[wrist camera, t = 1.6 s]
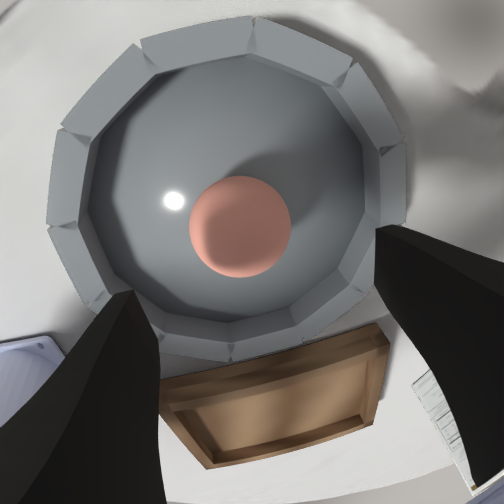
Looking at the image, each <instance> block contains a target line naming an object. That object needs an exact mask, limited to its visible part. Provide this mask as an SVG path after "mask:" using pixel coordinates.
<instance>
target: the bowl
mask: <svg viewBox="0 0 504 504" xmlns="http://www.w3.org/2000/svg"><path fill="white" fill-rule="evenodd" d="M140 41H141V46H142V49H140V48H139V47H138V46H136V45H135V44H134V43H133V44H132V45H131V46H130V47H129V48H128V49H127V50H126V51H125V52H124V53H123V54H122V55H121V56H120V57H119V58H118V59H117V60H116V61H115V62H114V63H113V64H112V65H111V66H110V67H109V68H108V69H107V70H106V71H105V72H104V73H103V74H102V75H101V76H100V77H99V78H98V79H97V81H96V82H95V83H94V84H93V85H92V86H91V87H90V88H89V89H88V91H87V92H86V93H85V94H84V95H83V96H82V98H81V99H80V100H79V101H78V102H77V104H76V105H75V106H74V107H73V108H72V110H71V111H70V112H69V113H68V115H67V116H66V117H65V118H64V120H63V121H62V122H61V125H62V126H63V127H64V128H62V129H59V130H57V135H56V141H55V147H54V153H53V160H52V167H51V175H50V183H49V193H48V203H47V217H46V224H48V225H51V226H50V227H49V228H48V230H47V231H48V233H49V235H50V238H51V240H52V242H53V244H54V246H55V248H56V251H57V253H58V255H59V257H60V259H61V261H62V263H63V265H64V267H65V269H66V271H67V273H68V275H69V277H70V279H71V281H72V283H73V285H74V287H75V288H76V290H77V292H78V294H79V296H80V298H81V299H82V301H83V303H84V304H85V303H89V305H88V308H89V309H90V310H91V311H93V312H94V313H96V314H97V315H98V313H99V312H100V311H101V310H102V308H103V307H104V306H105V304H106V303H107V302H108V301H109V300H110V298H111V297H112V296H113V295H114V294H116V293H120V292H124V291H128V290H132V289H134V291H135V294H136V296H137V298H138V300H139V302H140V304H141V306H142V308H143V310H144V312H145V314H146V316H147V318H148V320H149V322H150V324H151V326H152V328H153V330H154V332H155V334H156V336H157V338H158V342H159V353H165V354H171V355H177V356H184V357H191V358H198V359H205V360H213V361H221V362H228V361H229V359H230V356H231V358H232V361H233V362H235V361H239V360H243V359H247V358H251V357H255V356H259V355H263V354H267V353H271V352H274V351H278V350H282V349H285V348H289V347H293V346H296V345H299V344H303V338H304V339H305V340H307V341H309V340H310V339H311V338H313V337H314V336H316V335H317V334H318V333H320V332H321V331H322V330H324V329H325V328H326V327H328V326H329V325H330V324H332V323H333V322H334V321H336V320H337V319H338V318H339V317H341V316H342V315H343V314H345V313H346V312H347V311H348V310H350V309H351V308H352V307H354V306H355V305H356V304H357V303H359V302H360V301H361V300H362V299H364V298H365V296H364V294H363V293H362V292H366V293H369V292H370V290H371V289H372V287H373V285H374V266H375V228H379V227H383V226H387V225H391V224H394V225H398V226H402V225H400V224H402V223H405V222H406V192H407V161H406V143H404V142H401V141H402V140H403V139H404V136H403V134H402V132H401V130H400V129H399V127H398V125H397V123H396V122H395V120H394V118H393V116H392V115H391V113H390V111H389V110H388V108H387V106H386V104H385V103H384V101H383V100H382V98H381V96H380V95H379V93H378V92H377V90H376V88H375V87H374V85H373V84H372V82H371V81H370V79H369V78H368V76H367V75H366V73H365V72H364V70H363V69H362V67H361V66H360V64H359V63H358V62H355V63H351V62H352V59H353V58H352V57H351V56H349V55H347V54H345V53H343V52H341V51H339V50H337V49H335V48H333V47H331V46H329V45H327V44H324V43H322V42H320V41H318V40H316V39H314V38H311V37H309V36H307V35H305V34H302V33H300V32H298V31H295V30H293V29H290V28H288V27H285V26H283V25H280V24H278V23H275V22H272V21H270V20H267V19H264V18H262V17H259V16H258V17H257V18H256V19H255V20H254V21H253V22H252V18H251V16H244V17H237V18H231V19H224V20H219V21H213V22H208V23H203V24H198V25H193V26H189V27H184V28H180V29H176V30H172V31H168V32H164V33H160V34H157V35H153V36H149V37H146V38H143V39H140ZM232 176H248V177H253V178H256V179H259V180H261V181H263V182H265V183H267V184H268V185H270V186H271V187H272V188H274V189H275V190H276V191H277V192H278V193H279V195H280V196H281V197H282V199H283V200H284V202H285V204H286V206H287V208H288V211H289V215H290V220H291V233H290V239H289V242H288V245H287V247H286V249H285V251H284V253H283V255H282V256H281V258H280V259H279V260H278V261H277V262H276V263H275V264H274V265H273V266H272V267H270V268H269V269H267V270H266V271H264V272H262V273H260V274H257V275H254V276H250V277H242V278H239V277H229V276H225V275H223V274H220V273H218V272H216V271H214V270H212V269H211V268H210V267H208V266H207V265H206V264H205V263H204V262H203V261H202V260H201V259H200V257H199V256H198V255H197V253H196V251H195V249H194V247H193V245H192V242H191V238H190V233H189V221H190V215H191V211H192V209H193V206H194V204H195V202H196V200H197V199H198V198H199V196H200V195H201V194H202V192H203V191H204V190H205V189H207V188H208V187H209V186H210V185H212V184H213V183H215V182H217V181H219V180H221V179H224V178H227V177H232ZM402 227H403V226H402ZM302 337H303V338H302Z"/></svg>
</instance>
